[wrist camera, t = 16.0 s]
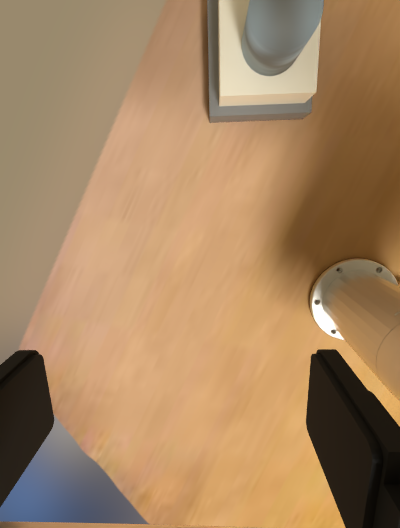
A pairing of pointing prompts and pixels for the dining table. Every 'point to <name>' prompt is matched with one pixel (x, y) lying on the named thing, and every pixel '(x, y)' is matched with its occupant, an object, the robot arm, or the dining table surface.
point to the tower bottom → (242, 111)
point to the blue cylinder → (278, 33)
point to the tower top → (251, 83)
